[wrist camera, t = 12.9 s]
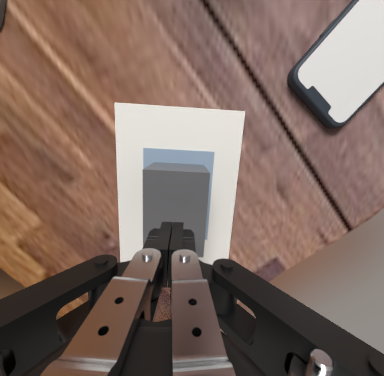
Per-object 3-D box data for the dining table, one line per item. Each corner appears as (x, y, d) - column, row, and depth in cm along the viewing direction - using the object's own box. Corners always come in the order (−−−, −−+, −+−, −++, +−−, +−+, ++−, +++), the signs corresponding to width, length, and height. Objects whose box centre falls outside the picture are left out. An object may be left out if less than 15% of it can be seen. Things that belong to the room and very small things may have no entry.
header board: (123, 263, 25) (110, 288, 21) (117, 104, 21) (99, 94, 16) (225, 265, 26) (233, 290, 22) (242, 112, 21) (257, 104, 17)
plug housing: (153, 227, 23) (142, 255, 17) (154, 162, 21) (142, 169, 15) (198, 228, 23) (203, 257, 17) (203, 164, 21) (210, 172, 16)
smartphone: (394, -51, 19) (279, 79, 21) (413, -69, 17) (287, 74, 19) (438, 19, 20) (328, 133, 23) (460, 8, 19) (339, 132, 21)
